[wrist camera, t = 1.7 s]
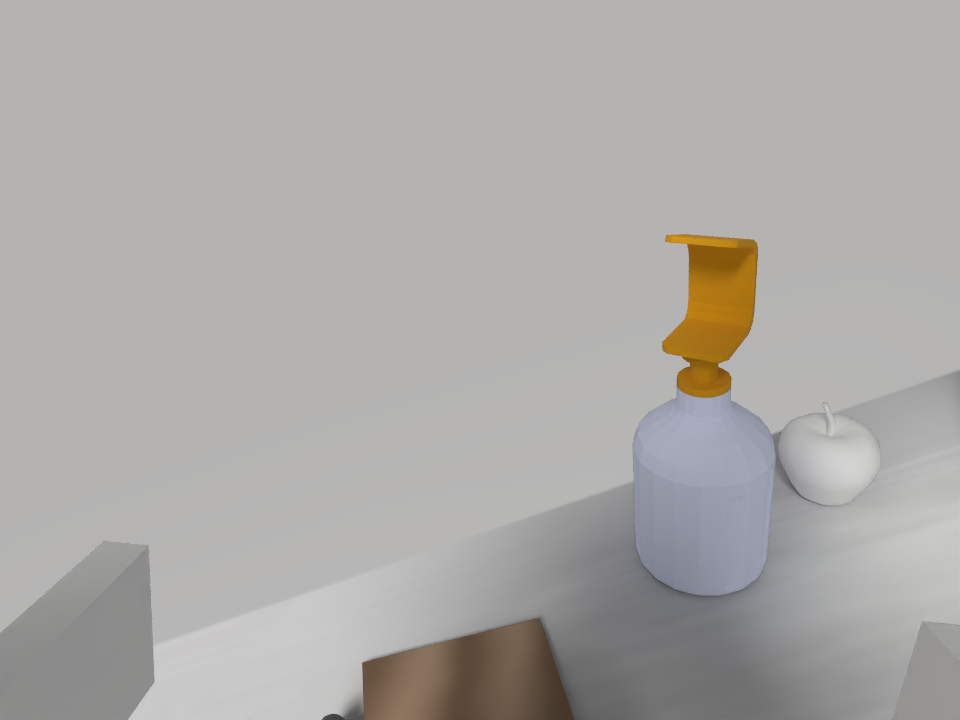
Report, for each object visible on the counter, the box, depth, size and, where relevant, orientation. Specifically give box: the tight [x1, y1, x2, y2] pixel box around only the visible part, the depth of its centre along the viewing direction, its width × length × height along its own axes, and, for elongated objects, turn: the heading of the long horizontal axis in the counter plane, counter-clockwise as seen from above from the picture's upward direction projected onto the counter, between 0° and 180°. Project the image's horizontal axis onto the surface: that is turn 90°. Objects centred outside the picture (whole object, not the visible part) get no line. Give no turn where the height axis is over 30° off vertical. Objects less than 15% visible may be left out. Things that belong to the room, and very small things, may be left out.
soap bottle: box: [633, 234, 776, 596], centre depth 43 cm, size 9×9×25 cm
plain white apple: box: [778, 402, 881, 506], centre depth 51 cm, size 7×7×8 cm
